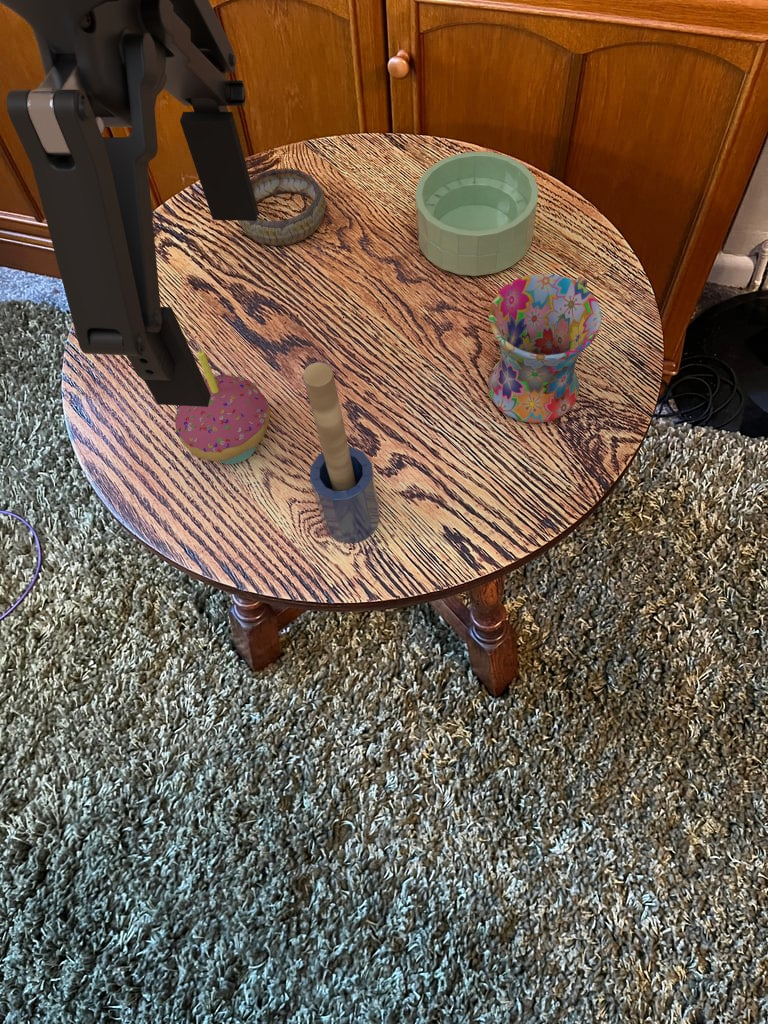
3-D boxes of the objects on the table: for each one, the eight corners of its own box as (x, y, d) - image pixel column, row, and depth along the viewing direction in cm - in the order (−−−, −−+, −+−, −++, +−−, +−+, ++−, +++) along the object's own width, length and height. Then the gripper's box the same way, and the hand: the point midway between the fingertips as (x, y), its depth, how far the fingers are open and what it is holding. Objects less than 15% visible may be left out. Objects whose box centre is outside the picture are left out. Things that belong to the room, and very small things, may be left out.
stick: (366, 511, 68) (338, 368, 51) (355, 529, 67) (323, 390, 50) (347, 502, 69) (312, 358, 51) (335, 520, 68) (297, 379, 50)
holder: (389, 507, 69) (383, 459, 62) (362, 552, 67) (352, 509, 60) (341, 485, 70) (329, 437, 63) (313, 529, 68) (298, 484, 61)
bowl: (550, 217, 84) (557, 170, 79) (503, 294, 80) (507, 249, 74) (448, 186, 88) (448, 139, 83) (397, 258, 83) (394, 213, 78)
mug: (549, 448, 70) (565, 375, 61) (464, 402, 74) (467, 326, 64) (613, 361, 75) (637, 280, 65) (530, 321, 78) (542, 239, 68)
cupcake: (187, 417, 75) (144, 334, 65) (272, 399, 75) (244, 313, 65) (195, 491, 71) (151, 416, 60) (285, 471, 71) (257, 393, 61)
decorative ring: (222, 219, 88) (275, 264, 84) (214, 196, 85) (269, 241, 81) (291, 175, 91) (345, 217, 87) (286, 151, 88) (342, 192, 84)
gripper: (43, -317, 31) (196, 152, 49) (-270, 67, 19) (84, 490, 38) (225, -329, 30) (311, 153, 48) (12, 66, 18) (232, 499, 37)
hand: (212, 301), depth 43 cm, fingers open, 13 cm apart
